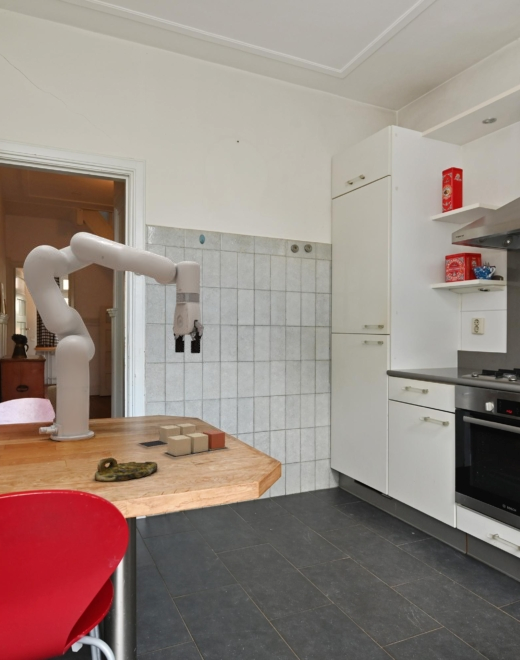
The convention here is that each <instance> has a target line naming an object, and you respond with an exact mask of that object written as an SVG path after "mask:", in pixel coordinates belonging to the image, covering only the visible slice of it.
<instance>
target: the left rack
mask: <svg viewBox="0 0 520 660" xmlns="http://www.w3.org/2000/svg"><path fill="white" fill-rule="evenodd" d="M158 428H159V429H158V430H159V431H158V432H159V433H158V434H159V435H158V440H153V441H151V440H150V441H144V442H138V444H139V445H140V446H141V445H142V446H144V447H146V448H151V447H158V446H165V445H167V442H168V437H172V436H179V435H183V436H186V435H187V434H194V433H197V425H196V424H192V423H190V422H188V423H178V424H175V425H173V424H170V425H163V426H162V425H161V426H159V427H158Z"/></svg>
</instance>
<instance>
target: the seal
mask: <svg viewBox="0 0 520 660" xmlns="http://www.w3.org/2000/svg"><path fill="white" fill-rule="evenodd" d="M106 464H108V465H107V466H106ZM157 469H158V463H157V462H155V461H145V462H136V461H129V462H122V463H121V462H119V463H118V460H117V459H116V458H115V457H107V458H102V459H100V460H99V461H98V463H97V470H96V471H95V473H94V480H95V481H99V482H122V481H127V480H132V479H139V478H143V477H146V476H150V475H151V474H153V473H154V472H155V471H156V470H157Z"/></svg>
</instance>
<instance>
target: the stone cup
mask: <svg viewBox="0 0 520 660" xmlns="http://www.w3.org/2000/svg"><path fill="white" fill-rule="evenodd" d="M47 397H48V400H49V403H50V405H51V408H52V410H53V413H54V418H53V419H52V423H56V401H57V384H56V385H51V386H48V387H47Z"/></svg>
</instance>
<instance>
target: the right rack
mask: <svg viewBox="0 0 520 660" xmlns="http://www.w3.org/2000/svg"><path fill="white" fill-rule="evenodd" d="M166 445H167V447H166V448H167V450H166V452H164V454H165V455H167V456H169V457H173V458H179V457H187V456H191V455H197V454H203V453H209V452H214V451H220V450H226V449H228V447H226V446H225V448H219V449H213V450H211V449H208V435H206V434H203V432H202V433H201V432H196V433H194V434H187V435H186V436H183V435H179V436H172V437H168V442H167V444H166Z"/></svg>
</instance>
